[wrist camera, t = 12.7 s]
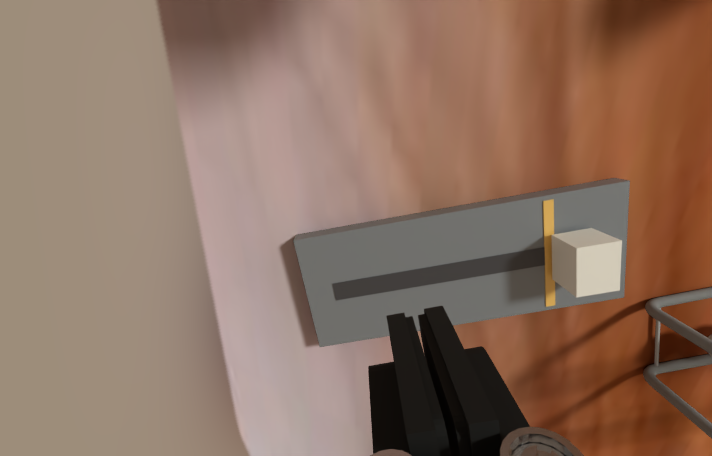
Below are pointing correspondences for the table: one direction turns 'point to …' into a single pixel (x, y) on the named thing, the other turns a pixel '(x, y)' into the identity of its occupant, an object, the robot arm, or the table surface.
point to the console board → (454, 260)
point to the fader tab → (586, 262)
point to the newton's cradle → (697, 338)
